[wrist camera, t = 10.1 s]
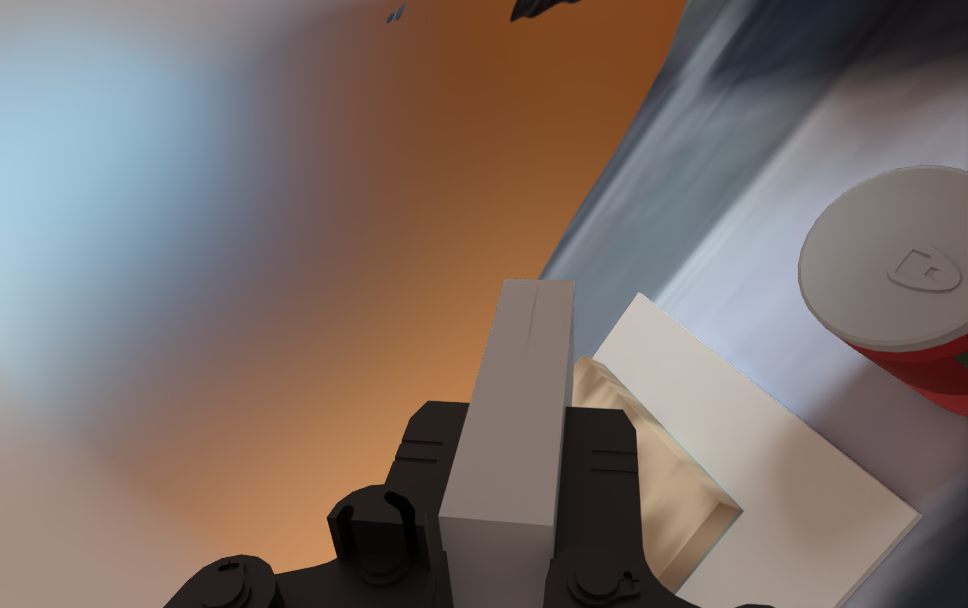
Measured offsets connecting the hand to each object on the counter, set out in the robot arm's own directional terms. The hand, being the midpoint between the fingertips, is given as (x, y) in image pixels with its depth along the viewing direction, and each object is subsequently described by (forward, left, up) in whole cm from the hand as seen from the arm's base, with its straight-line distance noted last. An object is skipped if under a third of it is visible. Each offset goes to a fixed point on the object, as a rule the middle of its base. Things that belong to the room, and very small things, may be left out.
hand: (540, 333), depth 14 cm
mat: (+7, -18, -27) cm, 33 cm away
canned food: (-9, -2, -27) cm, 29 cm away
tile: (+9, -13, -25) cm, 30 cm away
